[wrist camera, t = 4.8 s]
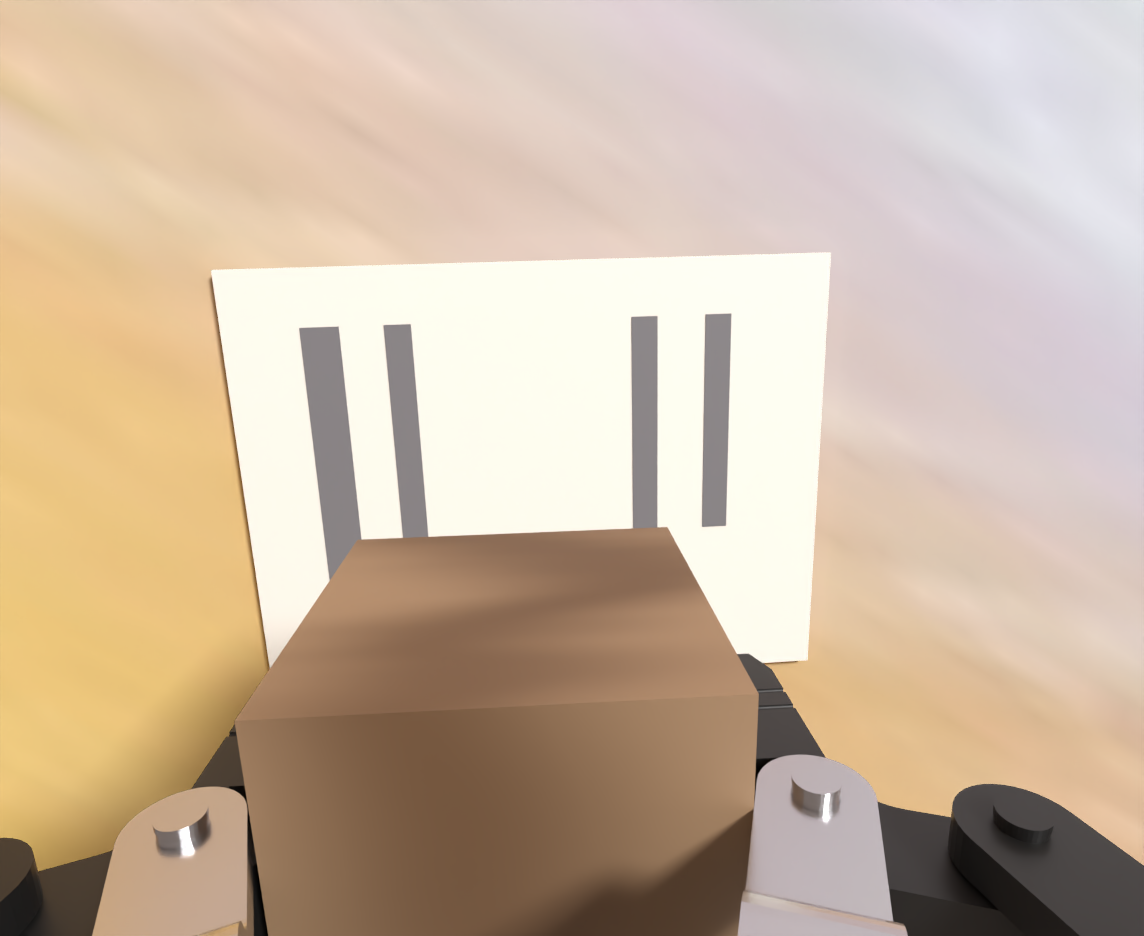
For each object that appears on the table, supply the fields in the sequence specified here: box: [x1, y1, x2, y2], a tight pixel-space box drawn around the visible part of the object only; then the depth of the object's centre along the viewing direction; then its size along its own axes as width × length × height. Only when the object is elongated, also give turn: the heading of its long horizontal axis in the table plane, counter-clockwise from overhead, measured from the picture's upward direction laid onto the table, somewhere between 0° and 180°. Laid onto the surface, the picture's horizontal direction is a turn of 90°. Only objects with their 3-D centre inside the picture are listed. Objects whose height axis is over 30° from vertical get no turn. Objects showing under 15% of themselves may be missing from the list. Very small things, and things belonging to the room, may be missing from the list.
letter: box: [211, 252, 831, 668], centre depth 21 cm, size 16×12×1 cm
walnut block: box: [235, 527, 759, 936], centre depth 10 cm, size 5×5×5 cm
